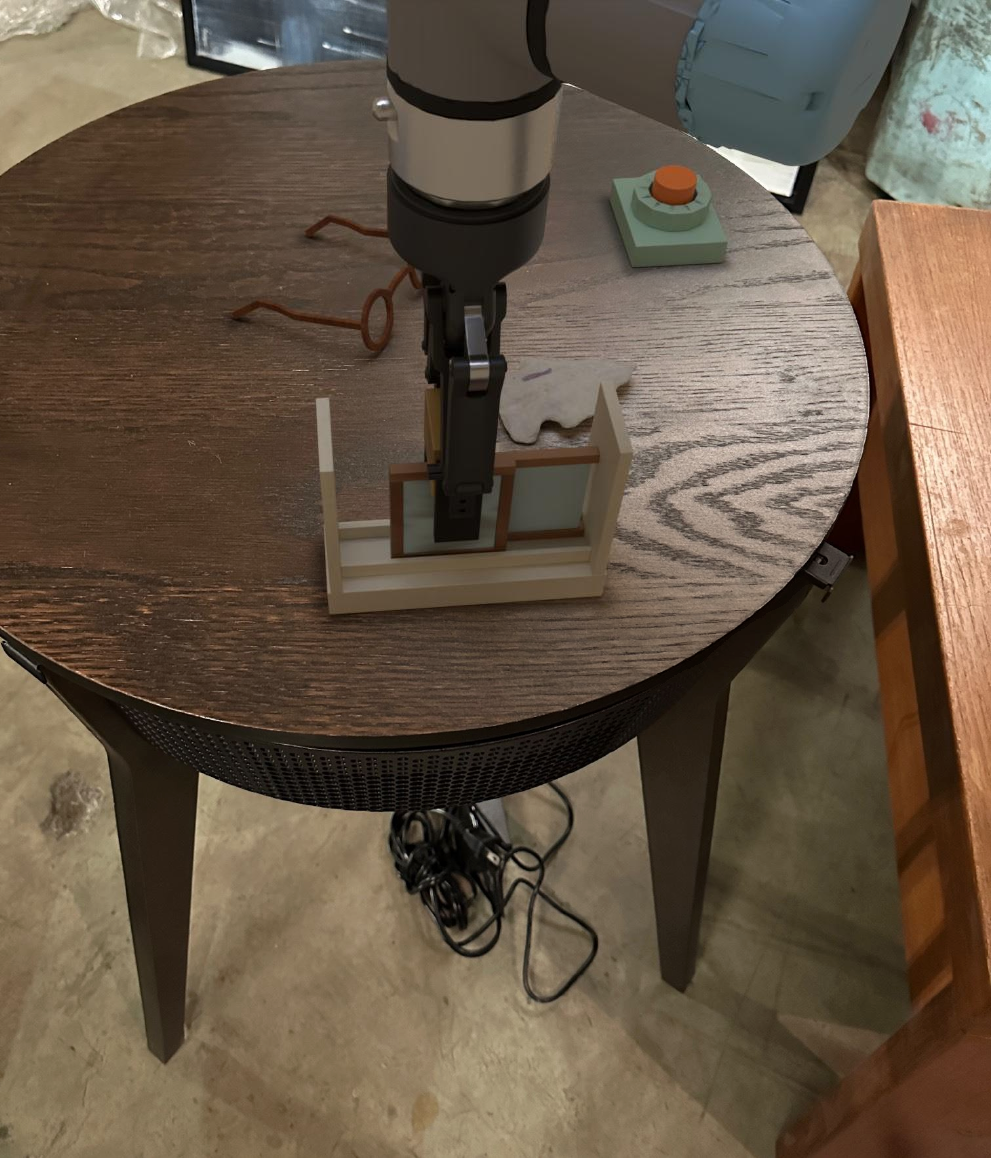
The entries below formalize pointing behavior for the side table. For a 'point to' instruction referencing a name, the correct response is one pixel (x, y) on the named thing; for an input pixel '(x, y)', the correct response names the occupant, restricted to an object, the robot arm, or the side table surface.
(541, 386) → the decorative stone
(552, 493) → the window frame
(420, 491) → the pane
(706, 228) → the button box
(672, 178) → the button
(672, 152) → the side table surface
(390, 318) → the glasses
